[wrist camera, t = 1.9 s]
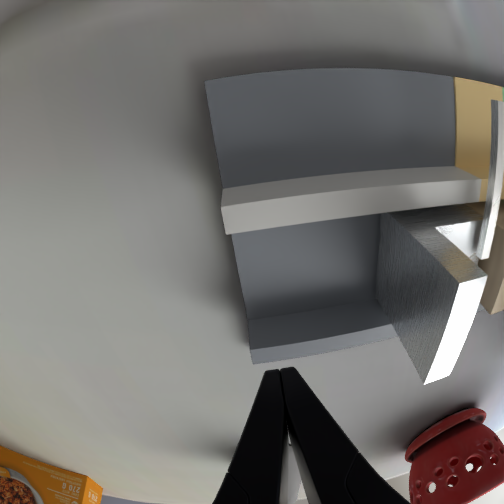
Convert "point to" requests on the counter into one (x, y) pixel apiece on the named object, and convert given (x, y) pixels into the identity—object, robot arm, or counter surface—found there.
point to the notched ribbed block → (438, 269)
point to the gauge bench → (336, 189)
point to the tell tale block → (493, 263)
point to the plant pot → (455, 460)
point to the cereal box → (42, 482)
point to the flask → (293, 478)
